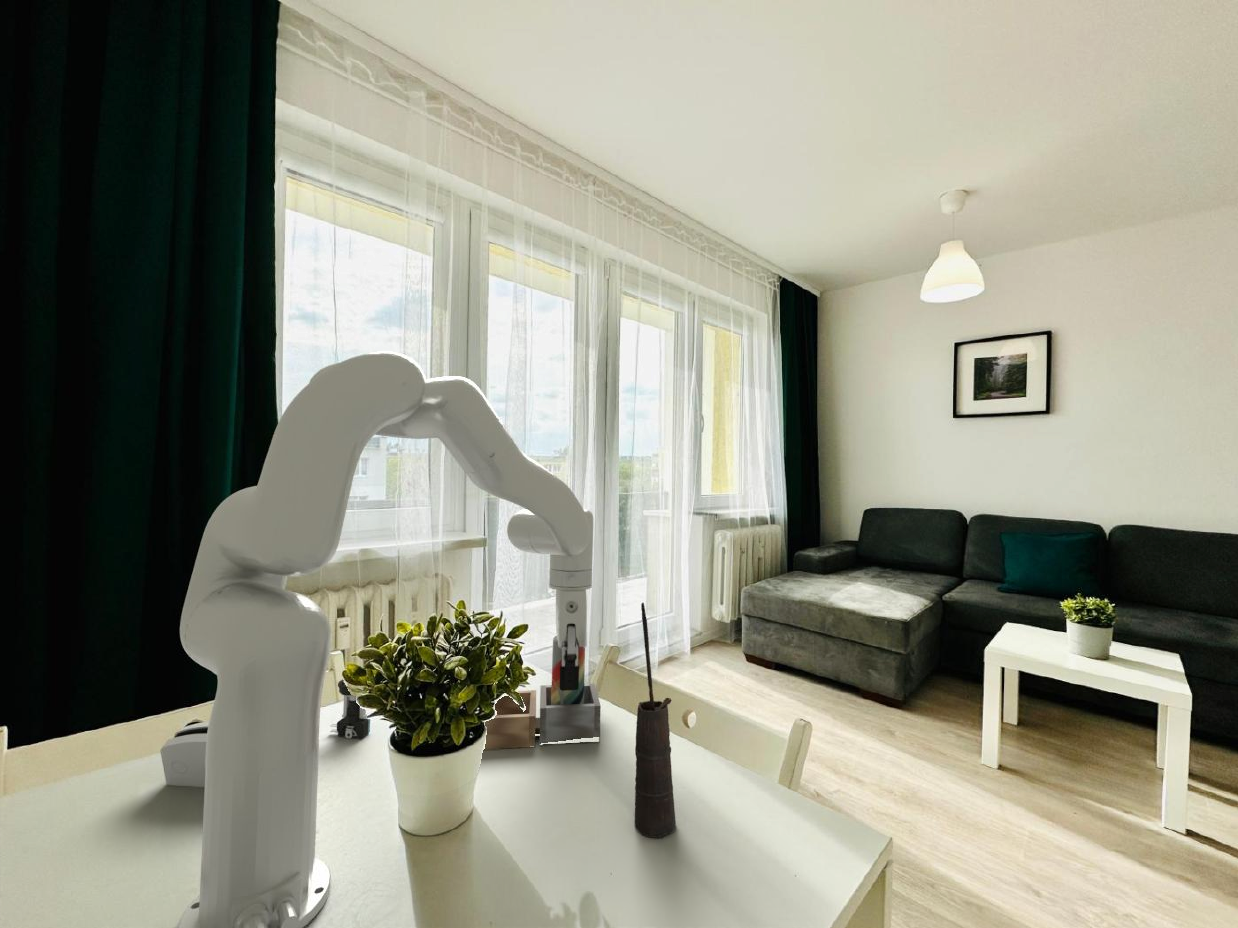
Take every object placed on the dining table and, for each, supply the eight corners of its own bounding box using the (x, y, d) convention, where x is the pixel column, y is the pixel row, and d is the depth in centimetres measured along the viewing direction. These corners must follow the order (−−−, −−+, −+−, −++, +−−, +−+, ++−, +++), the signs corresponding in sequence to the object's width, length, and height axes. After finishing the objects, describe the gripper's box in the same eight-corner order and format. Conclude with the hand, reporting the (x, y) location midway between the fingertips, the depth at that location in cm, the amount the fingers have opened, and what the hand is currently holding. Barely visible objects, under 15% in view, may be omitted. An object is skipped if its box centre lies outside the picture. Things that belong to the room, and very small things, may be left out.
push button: (321, 741, 87) (323, 679, 88) (340, 726, 92) (342, 668, 93) (359, 743, 87) (361, 681, 87) (377, 728, 92) (379, 670, 92)
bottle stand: (593, 714, 99) (594, 682, 99) (600, 743, 88) (600, 706, 88) (474, 720, 96) (475, 686, 96) (465, 750, 85) (466, 712, 85)
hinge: (302, 771, 78) (289, 716, 75) (280, 800, 74) (265, 743, 71) (195, 765, 79) (178, 711, 76) (167, 793, 75) (148, 737, 72)
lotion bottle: (544, 729, 90) (548, 611, 91) (558, 716, 96) (561, 604, 97) (575, 735, 89) (578, 614, 90) (588, 721, 94) (590, 607, 95)
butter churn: (678, 794, 74) (680, 592, 75) (710, 838, 65) (712, 607, 66) (615, 805, 71) (618, 595, 72) (639, 853, 62) (643, 611, 63)
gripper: (596, 587, 85) (594, 701, 85) (587, 571, 102) (585, 665, 102) (550, 587, 84) (546, 703, 83) (548, 571, 101) (546, 666, 100)
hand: (568, 681), depth 93 cm, fingers closed on lotion bottle, 5 cm apart
